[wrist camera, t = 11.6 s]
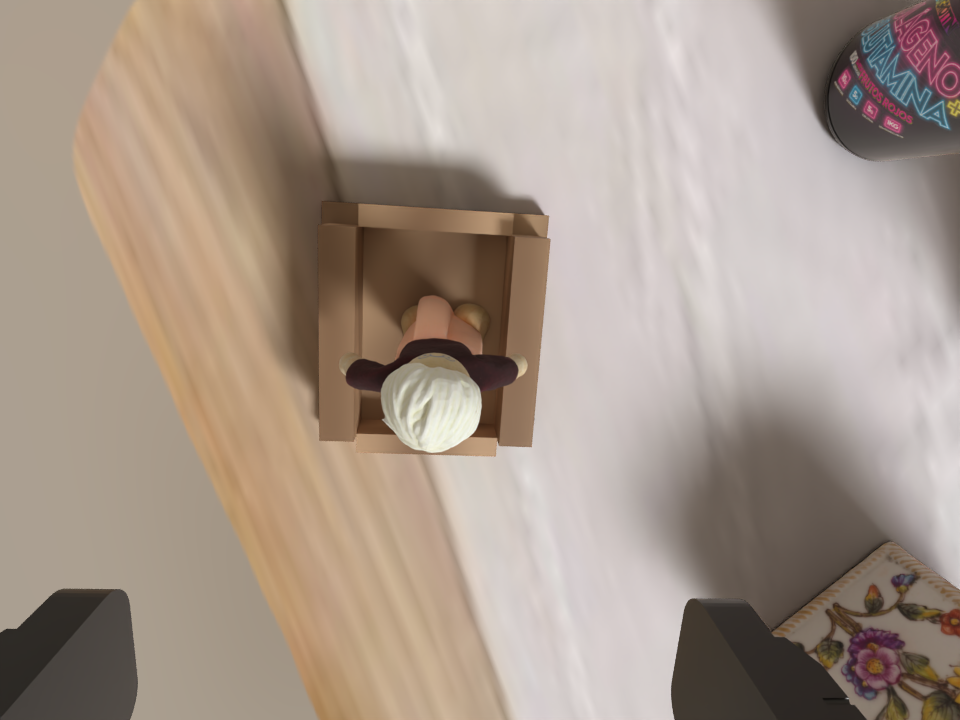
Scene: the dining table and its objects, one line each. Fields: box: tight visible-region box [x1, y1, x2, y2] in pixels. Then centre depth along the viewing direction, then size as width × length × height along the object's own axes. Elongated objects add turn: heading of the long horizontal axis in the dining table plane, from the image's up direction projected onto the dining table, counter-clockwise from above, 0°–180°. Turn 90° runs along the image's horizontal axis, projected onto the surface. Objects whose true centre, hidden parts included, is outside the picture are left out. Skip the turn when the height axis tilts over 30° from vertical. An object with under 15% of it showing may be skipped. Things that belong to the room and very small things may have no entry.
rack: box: [318, 201, 550, 456], centre depth 29 cm, size 11×12×4 cm
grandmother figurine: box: [339, 295, 528, 453], centre depth 23 cm, size 8×4×13 cm, turn 100°
